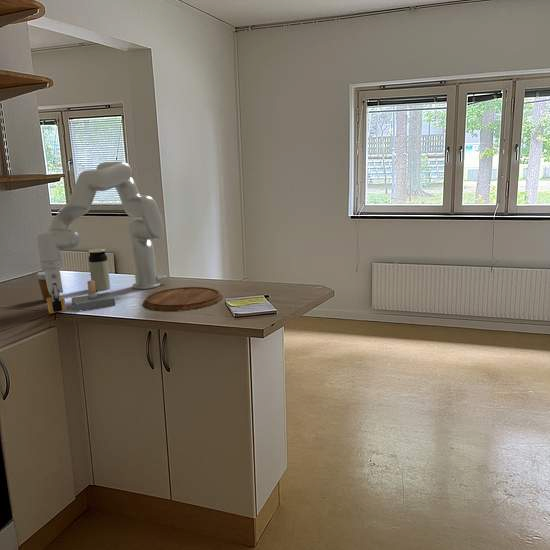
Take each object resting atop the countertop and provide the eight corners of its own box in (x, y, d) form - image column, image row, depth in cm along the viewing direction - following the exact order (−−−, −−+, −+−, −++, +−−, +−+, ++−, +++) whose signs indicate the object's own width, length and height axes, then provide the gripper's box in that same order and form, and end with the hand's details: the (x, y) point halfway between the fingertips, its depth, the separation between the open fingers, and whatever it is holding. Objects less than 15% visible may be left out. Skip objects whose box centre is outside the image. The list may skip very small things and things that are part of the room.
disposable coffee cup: (42, 303, 224) (38, 275, 222) (37, 299, 232) (34, 272, 229) (65, 299, 229) (62, 272, 227) (60, 295, 237) (57, 269, 234)
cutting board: (233, 292, 231) (233, 287, 230) (204, 313, 201) (203, 307, 200) (165, 291, 239) (165, 285, 239) (128, 310, 209) (127, 304, 209)
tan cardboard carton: (64, 307, 216) (62, 295, 215) (66, 311, 211) (64, 298, 210) (48, 310, 213) (46, 298, 212) (49, 313, 208) (47, 301, 207)
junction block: (109, 299, 227) (107, 276, 225) (115, 305, 216) (112, 281, 214) (72, 304, 220) (69, 281, 218) (76, 311, 210) (73, 286, 208)
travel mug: (105, 290, 243) (101, 251, 239) (89, 290, 244) (84, 251, 240) (113, 286, 250) (109, 248, 247) (97, 286, 252) (93, 248, 248)
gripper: (63, 266, 202) (69, 312, 206) (58, 260, 217) (64, 303, 221) (42, 269, 199) (48, 315, 203) (38, 262, 214) (44, 305, 218)
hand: (56, 308), depth 212 cm, fingers closed on tan cardboard carton, 6 cm apart
